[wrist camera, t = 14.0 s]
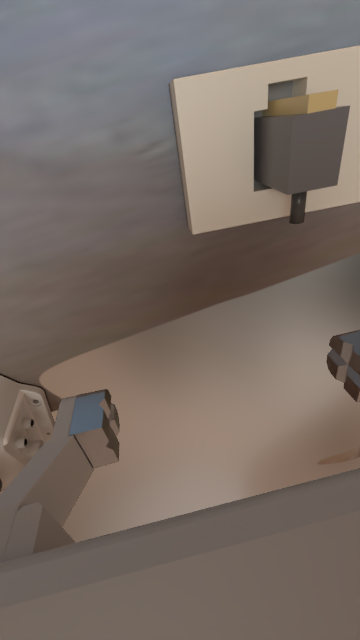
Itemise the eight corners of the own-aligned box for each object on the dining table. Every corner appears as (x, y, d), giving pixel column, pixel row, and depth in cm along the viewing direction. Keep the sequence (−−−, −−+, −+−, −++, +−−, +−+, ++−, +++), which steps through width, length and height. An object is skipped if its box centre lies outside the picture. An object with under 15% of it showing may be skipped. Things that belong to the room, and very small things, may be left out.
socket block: (344, 193, 32) (365, 200, 29) (187, 224, 31) (192, 234, 28) (371, 47, 25) (402, 37, 22) (168, 84, 24) (173, 79, 21)
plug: (288, 202, 30) (331, 223, 24) (251, 209, 30) (284, 233, 24) (295, 96, 25) (353, 86, 18) (251, 104, 25) (294, 97, 18)
